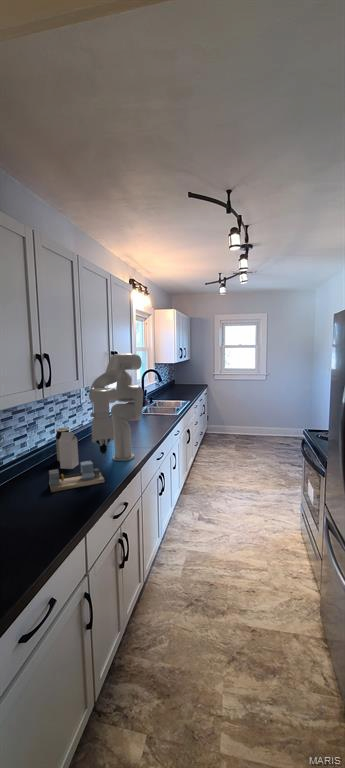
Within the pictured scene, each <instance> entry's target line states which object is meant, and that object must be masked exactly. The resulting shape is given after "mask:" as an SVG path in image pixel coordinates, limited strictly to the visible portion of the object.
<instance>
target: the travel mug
mask: <svg viewBox="0 0 345 768" xmlns="http://www.w3.org/2000/svg"><path fill="white" fill-rule="evenodd" d="M55 432H56V434H55V445H56V457H57V459H56V460H57V461H58V462H60V454H59V439H60V437H61V432H70V428H69V427H60V428H57V429H55Z"/></svg>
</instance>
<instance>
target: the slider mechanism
mask: <svg viewBox="0 0 345 768" xmlns="http://www.w3.org/2000/svg"><path fill="white" fill-rule="evenodd" d="M93 469H94V479H88V480H83V479H82V477H81V476H82V473H81V472H80V473H78V472H77V473H73V474H69V475H68V474H66V475H64V473H61V474H60V472H59V468H58V469H51V470H48V476H49V482H48V483H49V484H48V485H49V487H50V492H51V493H55V492H59V491H65V490H69V489H70V490H71V489H75V488H80V487H85V486H91V485H97V484H101V483H102V484H103V483H105V481H106V480H105V478H104V476H103V475H102V473H101V472H100V469H99V468H97V467H96V468H93Z"/></svg>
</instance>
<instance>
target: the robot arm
mask: <svg viewBox="0 0 345 768" xmlns="http://www.w3.org/2000/svg"><path fill="white" fill-rule="evenodd" d="M107 363H108V364H107V367H106V369H105V372H104V373H102V374H101V375H100V376H98V377H96V378H95V380H93V382H92V383H91V386H90V389H89V393H88V399H89V401H90V402H91V403H93V404H92V405H93V406H92V409H93V412H92V413H90V418H92V421H91V442H92V443H94V444H95V443H96V444H98V446H99V452H100V453H101V454H102V455H104V454H106V452H107V451H108V448H107V445H108V444H109V443H110V442H111V441H114V444H113V445H114V454H113V455H112V456H111V457H112V460H114V461H115V462H126V461H131V460H133V459H135V454H134V453H132V435H131V434H132V433H131V432H132V431H131V426H130V424H129V422H128V421H139V420H141V418H142V415H143V406H144V405H143V404H144V390H143V388H142V387H141V386H140V385H132V380H133V379H132V376H131V375H130V374H129V373H128V371H133V370H136V371H137V370H139V369H141V367H142V358H141V356H140V355H138V354H134V353H115V354H113V355H111V356H110V357H109V361H108V362H107ZM114 383H116V386H115V388H114V387H107V386H109V385H113V384H114ZM116 402H118V403H116ZM119 402H120V403H119ZM113 403H116V404H113ZM110 404H113V405H112V406H111V408H110ZM110 415H111V416H110Z"/></svg>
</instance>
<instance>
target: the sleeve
mask: <svg viewBox="0 0 345 768" xmlns="http://www.w3.org/2000/svg"><path fill="white" fill-rule="evenodd" d="M79 464H80V473H82V476H81V477H82V479H83V480H88V479H94V469H95V468H94V463H93V462H92V460H85V461H79Z"/></svg>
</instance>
